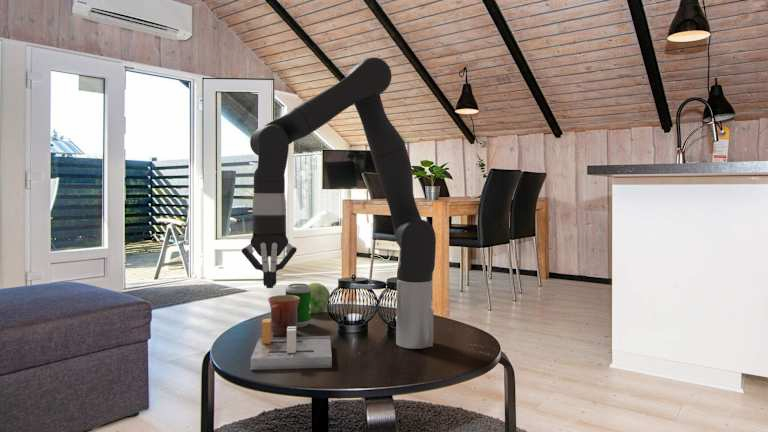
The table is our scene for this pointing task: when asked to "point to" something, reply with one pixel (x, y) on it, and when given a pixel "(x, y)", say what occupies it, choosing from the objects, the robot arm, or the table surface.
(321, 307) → the decorative ball
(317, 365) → the console
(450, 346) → the table surface
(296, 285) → the soda can
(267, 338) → the fader orange
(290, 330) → the fader cream
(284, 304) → the mug
